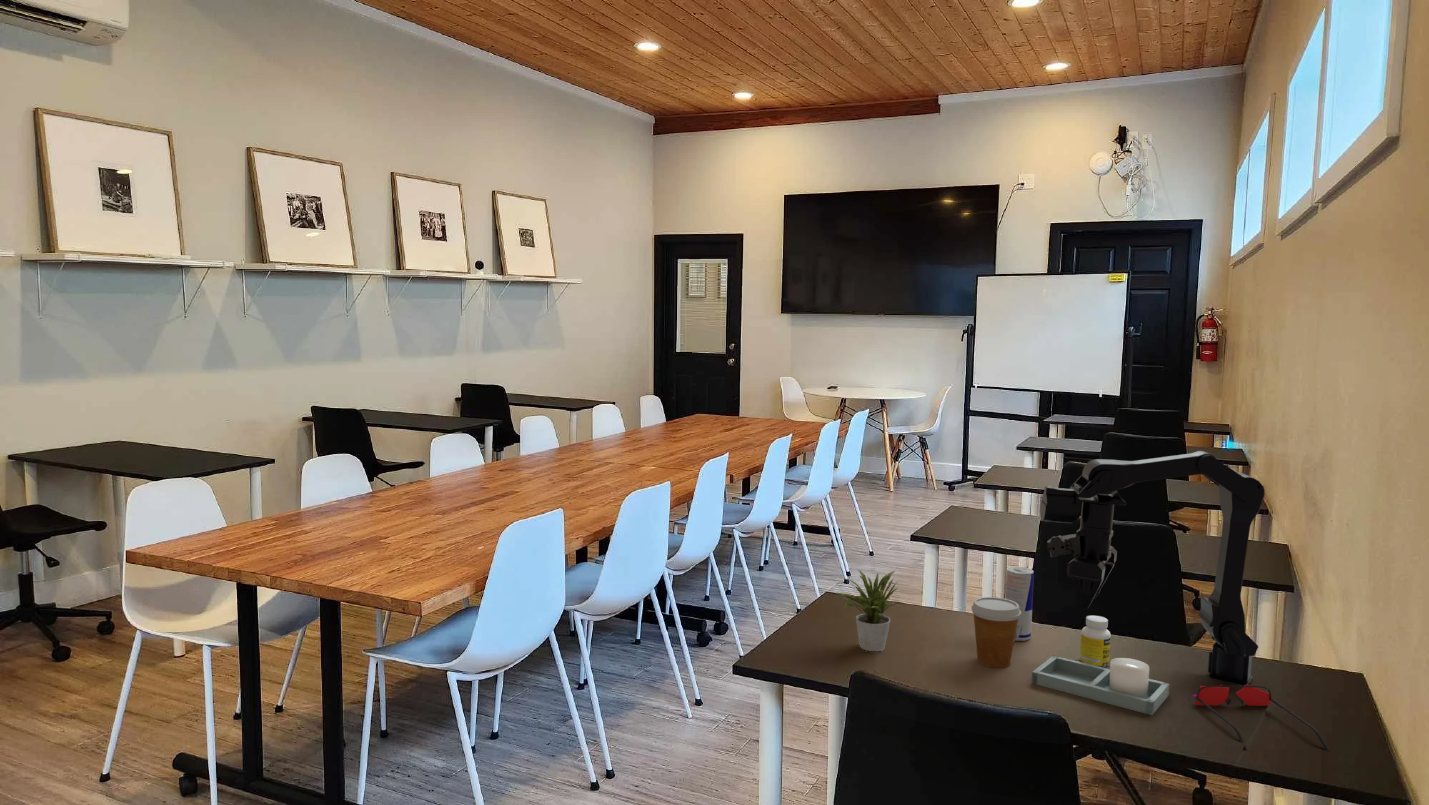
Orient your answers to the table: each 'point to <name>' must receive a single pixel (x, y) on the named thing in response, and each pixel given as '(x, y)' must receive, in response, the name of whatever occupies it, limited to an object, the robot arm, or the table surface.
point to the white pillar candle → (1129, 677)
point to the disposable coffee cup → (995, 630)
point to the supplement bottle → (1095, 642)
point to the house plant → (872, 612)
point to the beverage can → (1021, 598)
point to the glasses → (1248, 695)
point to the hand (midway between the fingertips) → (1088, 603)
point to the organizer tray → (1095, 684)
